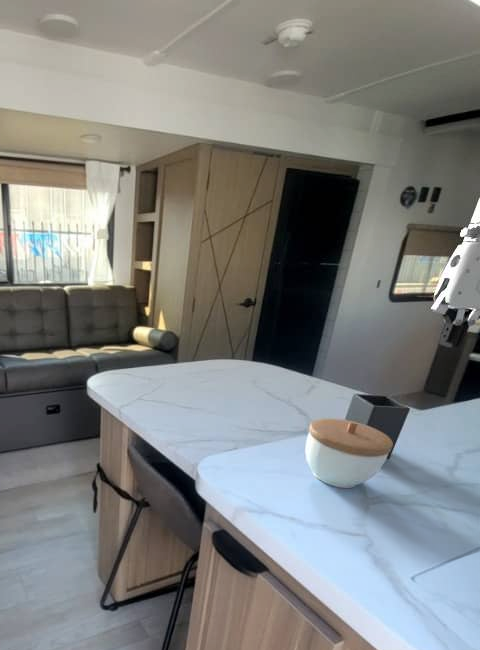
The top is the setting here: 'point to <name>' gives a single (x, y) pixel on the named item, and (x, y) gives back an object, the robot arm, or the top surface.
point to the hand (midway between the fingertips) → (449, 345)
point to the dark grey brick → (379, 414)
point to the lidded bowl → (345, 451)
